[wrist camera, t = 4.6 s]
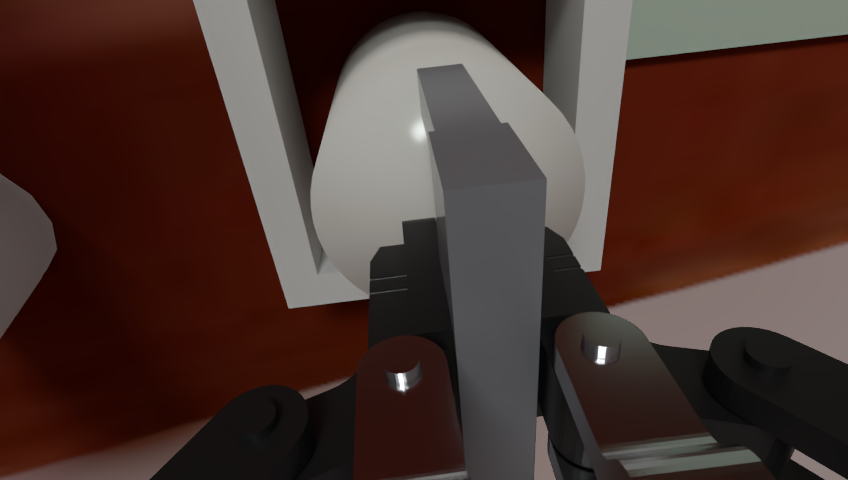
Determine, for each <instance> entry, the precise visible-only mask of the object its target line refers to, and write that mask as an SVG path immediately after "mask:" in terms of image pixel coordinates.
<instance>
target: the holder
mask: <svg viewBox="0 0 848 480" xmlns="http://www.w3.org/2000/svg"><path fill="white" fill-rule="evenodd" d="M193 2H194V5H195V8H196V12H197V15H198V18H199V21H200V24H201V28H202V31H203V34H204V37H205V41H206V44H207V47H208V50H209V53H210V57H211V60H212V63H213V66H214V70H215V73H216V76H217V79H218V82H219V86H220V89H221V92H222V95H223V99H224V102H225V105H226V108H227V111H228V115H229V118H230V121H231V124H232V128H233V131H234V134H235V137H236V140H237V144H238V147H239V150H240V153H241V157H242V160H243V163H244V166H245V169H246V173H247V176H248V179H249V182H250V186H251V189H252V192H253V195H254V198H255V202H256V205H257V208H258V211H259V215H260V218H261V221H262V224H263V227H264V231H265V234H266V237H267V240H268V244H269V247H270V250H271V253H272V256H273V260H274V263H275V266H276V269H277V273H278V276H279V279H280V282H281V285H282V289H283V292H284V295H285V298H286V302H287V305H288V308H297V307H305V306H313V305H321V304H329V303H337V302H346V301H354V300H362V299H369V295H368V294H366V293H365V292H363V291H362V290H360V289H359V288H357V287H356V286H355V285H353V284H352V283H351V282H350V281H349V280H348V279H346V278H345V277H344V276H343V275H342V274H341V273H340V271H339V270H338V269H337V268H336V267H335V266H334V265H333V263H332V262H331V260H330V259H329V257H328V256H327V254H326V253H325V251H324V249H323V247H322V245H321V243H320V241H319V239H318V236H317V233H316V230H315V227H314V224H313V218H312V212H311V194H310V191H311V183H312V176H313V171H314V168H313V164H312V159H311V155H310V151H309V146H308V142H307V138H306V133H305V129H304V125H303V120H302V116H301V112H300V107H299V103H298V99H297V94H296V90H295V85H294V81H293V77H292V72H291V68H290V64H289V59H288V55H287V51H286V46H285V42H284V38H283V33H282V29H281V25H280V20H279V16H278V12H277V7H276V3H275V0H193ZM632 3H633V0H546V21H545V49H544V78H543V94H544V95H545V96H546V97H547V98H548V99H549V100H550V101H551V102H552V103H553V104H554V105H555V106H556V107H557V108H558V109H559V110H560V112H561V113H562V114H563V115H564V117H565V118H566V120H567V121H568V123H569V124H570V126H571V127H572V130H573V132H574V134H575V136H576V138H577V140H578V143H579V146H580V149H581V153H582V156H583V161H584V169H585V194H584V200H583V206H582V210H581V213H580V216H579V219H578V222H577V225H576V227H575V229H574V231H573V233H572V236H571V237H570V239H569V241H568V242H567V244H568V246H569V247H570V249H571V250H572V252H573V256H575V257H576V259H577V260H578V262H579V263H580V265H581V269H583V270H584V272H589V271H597V270H601V262H602V253H603V245H604V237H605V228H606V220H607V211H608V203H609V195H610V186H611V178H612V170H613V161H614V153H615V145H616V136H617V128H618V120H619V111H620V103H621V94H622V86H623V78H624V69H625V61H626V53H627V44H628V36H629V28H630V19H631V11H632Z"/></svg>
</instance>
